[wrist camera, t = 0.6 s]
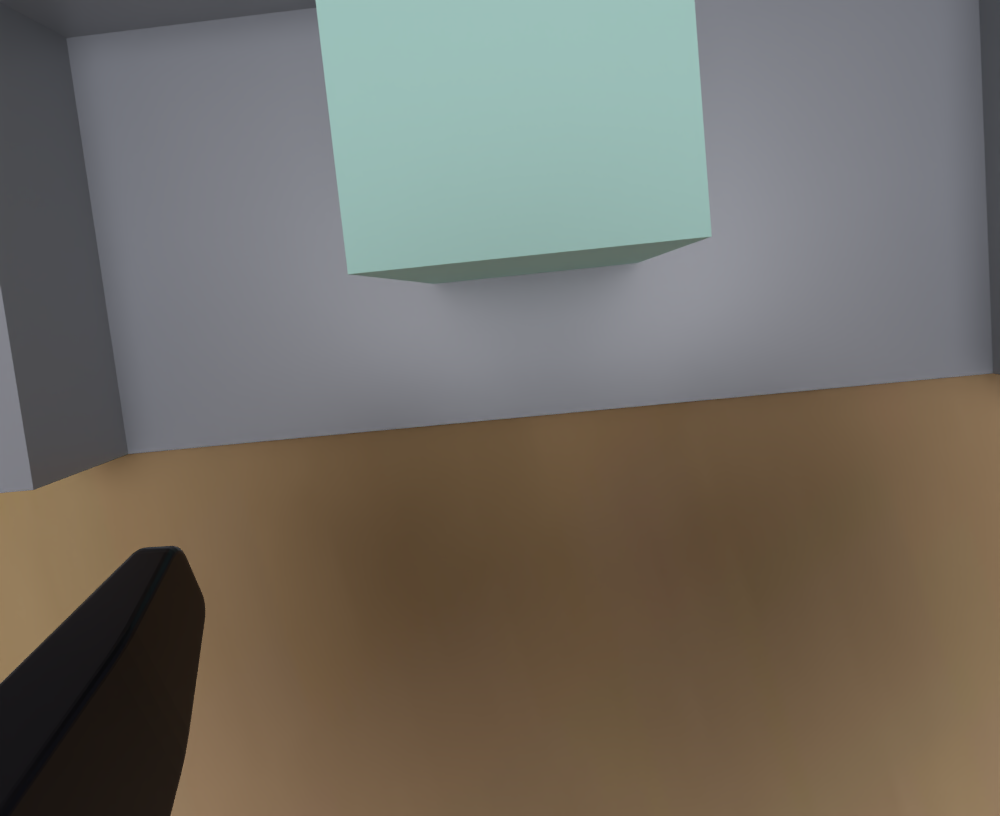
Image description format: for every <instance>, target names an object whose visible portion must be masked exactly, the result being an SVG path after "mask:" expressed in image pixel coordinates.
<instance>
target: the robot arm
mask: <svg viewBox="0 0 1000 816" xmlns="http://www.w3.org/2000/svg"><path fill="white" fill-rule="evenodd" d="M204 621H205V603H204V598H203V595H202V592H201V590H200V588H199V585H198V583H197V581H196V578H195V576H194V574H193V572H192V569H191V567H190V565H189V563H188V560H187V558H186V556H185V554H184V552H183V551H182V550H181V549H180V548H178V547H175V546H164V547H147V548H142V549H139V550H138V551H136V552H134V553H133V554H132V555H131V556H130V557H129V558H128V559H127V560H126V561H125V562H124V563H123V564H122V565H121V566H120V567H119V568H118V569H117V570H116V571H115V572H114V573H113V574H112V575H111V576H110V577H109V578H108V579H107V580H106V581H104V582H103V583H102V584H101V585H100V586H99V587H98V588H97V589H96V590H95V591H94V592H93V593H92V594H91V595H90V596H89V597H88V598H87V599H86V600H85V601H84V602H83V603H82V604H81V605H80V606H79V607H78V608H77V609H76V610H75V611H74V612H73V613H72V614H71V615H70V616H69V617H68V618H67V619H66V620H65V621H64V622H63V623H62V624H61V625H60V626H59V627H58V628H57V629H56V630H55V631H54V632H53V633H52V634H50V635H49V636H48V637H47V638H46V639H45V640H44V641H43V642H42V643H41V644H40V645H39V646H38V647H37V648H36V649H35V650H34V651H33V652H32V653H31V654H30V655H29V656H28V657H27V658H26V659H25V660H24V661H23V662H22V663H21V664H20V665H19V666H18V667H17V668H16V669H15V670H14V671H13V672H12V673H11V674H10V675H9V676H8V677H7V678H6V679H5V680H4V681H3V682H2V683H1V684H0V816H170V815H171V811H172V807H173V803H174V799H175V795H176V791H177V788H178V784H179V780H180V776H181V771H182V767H183V763H184V758H185V754H186V748H187V742H188V736H189V729H190V722H191V715H192V708H193V700H194V693H195V686H196V679H197V672H198V664H199V657H200V650H201V643H202V636H203V629H204Z"/></svg>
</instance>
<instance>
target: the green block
mask: <svg viewBox="0 0 1000 816" xmlns="http://www.w3.org/2000/svg"><path fill="white" fill-rule="evenodd" d="M315 1H316V9H317V18H318V26H319V35H320V43H321V51H322V60H323V68H324V77H325V85H326V94H327V102H328V111H329V119H330V127H331V136H332V144H333V153H334V161H335V170H336V178H337V187H338V195H339V204H340V212H341V220H342V229H343V237H344V246H345V254H346V263H347V271H348V274H350V275H359V276H368V277H377V278H386V279H395V280H404V281H413V282H422V283H430V284H438V283H448V282H457V281H467V280H477V279H487V278H496V277H506V276H516V275H526V274H535V273H545V272H555V271H565V270H574V269H584V268H594V267H604V266H613V265H623V264H633V263H639V262H642V261H645V260H647V259H650V258H653V257H656V256H659V255H661V254H664V253H667V252H670V251H673V250H675V249H678V248H681V247H684V246H687V245H689V244H692V243H695V242H698V241H700V240H703V239H706V238H709V237H712V234H711V220H710V206H709V193H708V179H707V165H706V151H705V138H704V124H703V110H702V96H701V82H700V69H699V55H698V41H697V27H696V13H695V0H315Z"/></svg>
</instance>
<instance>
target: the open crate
mask: <svg viewBox="0 0 1000 816" xmlns="http://www.w3.org/2000/svg"><path fill="white" fill-rule="evenodd" d="M695 13H696V27H697V41H698V55H699V69H700V82H701V96H702V110H703V124H704V138H705V151H706V165H707V179H708V193H709V206H710V220H711V234H712V237H709V238H706V239H703V240H700V241H698V242H695V243H692V244H689V245H687V246H684V247H681V248H678V249H675V250H673V251H670V252H667V253H664V254H661V255H659V256H656V257H653V258H650V259H647V260H645V261H642V262H639V263H633V264H623V265H613V266H604V267H594V268H584V269H574V270H565V271H555V272H545V273H535V274H526V275H516V276H506V277H496V278H487V279H477V280H467V281H457V282H448V283H438V284H430V283H422V282H413V281H404V280H395V279H386V278H377V277H368V276H359V275H350V274H348V271H347V263H346V254H345V246H344V237H343V229H342V220H341V212H340V204H339V195H338V187H337V178H336V170H335V161H334V153H333V144H332V136H331V127H330V119H329V111H328V102H327V94H326V85H325V77H324V68H323V60H322V51H321V43H320V35H319V26H318V18H317V9H316V1H315V0H0V493H4V492H15V491H26V490H34V489H37V488H40V487H42V486H45V485H48V484H50V483H53V482H55V481H58V480H61V479H63V478H66V477H69V476H71V475H74V474H77V473H79V472H82V471H84V470H87V469H90V468H92V467H95V466H98V465H100V464H103V463H106V462H108V461H111V460H114V459H116V458H119V457H121V456H124V455H127V454H133V453H143V452H154V451H165V450H176V449H186V448H197V447H208V446H218V445H229V444H240V443H251V442H261V441H272V440H283V439H293V438H304V437H315V436H326V435H336V434H347V433H358V432H368V431H379V430H390V429H401V428H411V427H422V426H433V425H444V424H454V423H465V422H476V421H486V420H497V419H508V418H519V417H529V416H540V415H551V414H561V413H572V412H583V411H594V410H604V409H615V408H626V407H636V406H647V405H658V404H669V403H679V402H690V401H701V400H711V399H722V398H733V397H744V396H754V395H765V394H776V393H786V392H797V391H808V390H819V389H829V388H840V387H851V386H861V385H872V384H883V383H894V382H904V381H915V380H926V379H937V378H947V377H958V376H969V375H979V374H990V373H995V374H1000V0H695Z"/></svg>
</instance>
